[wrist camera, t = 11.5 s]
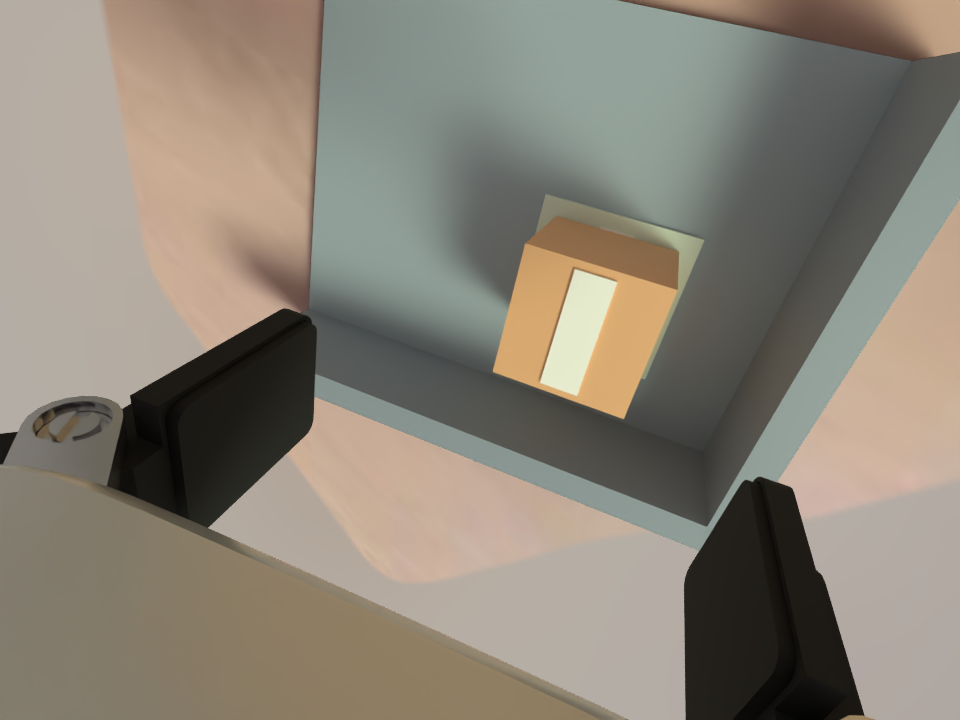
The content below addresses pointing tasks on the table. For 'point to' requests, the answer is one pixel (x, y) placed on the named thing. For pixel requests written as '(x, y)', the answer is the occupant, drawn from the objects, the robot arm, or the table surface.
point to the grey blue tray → (615, 229)
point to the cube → (586, 313)
